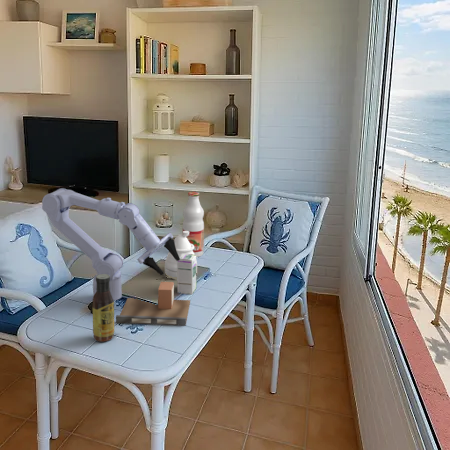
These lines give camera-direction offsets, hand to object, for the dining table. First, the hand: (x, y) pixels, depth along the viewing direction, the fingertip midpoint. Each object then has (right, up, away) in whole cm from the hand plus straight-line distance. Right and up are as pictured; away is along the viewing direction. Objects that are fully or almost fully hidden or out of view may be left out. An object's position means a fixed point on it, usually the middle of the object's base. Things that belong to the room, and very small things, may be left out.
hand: (170, 267), depth 167 cm
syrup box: (+4, -11, +14) cm, 18 cm away
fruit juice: (+4, +1, +53) cm, 53 cm away
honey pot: (+1, -6, +31) cm, 32 cm away
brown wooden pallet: (-5, -16, -2) cm, 16 cm away
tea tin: (-2, -13, +2) cm, 13 cm away
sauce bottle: (-18, -20, -18) cm, 32 cm away
